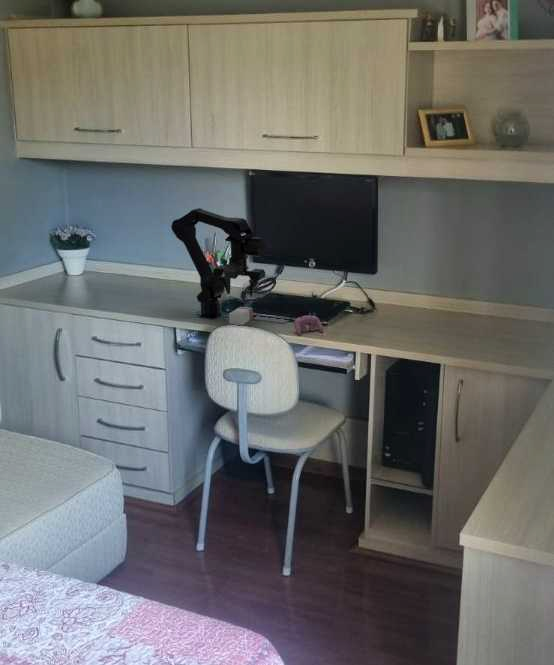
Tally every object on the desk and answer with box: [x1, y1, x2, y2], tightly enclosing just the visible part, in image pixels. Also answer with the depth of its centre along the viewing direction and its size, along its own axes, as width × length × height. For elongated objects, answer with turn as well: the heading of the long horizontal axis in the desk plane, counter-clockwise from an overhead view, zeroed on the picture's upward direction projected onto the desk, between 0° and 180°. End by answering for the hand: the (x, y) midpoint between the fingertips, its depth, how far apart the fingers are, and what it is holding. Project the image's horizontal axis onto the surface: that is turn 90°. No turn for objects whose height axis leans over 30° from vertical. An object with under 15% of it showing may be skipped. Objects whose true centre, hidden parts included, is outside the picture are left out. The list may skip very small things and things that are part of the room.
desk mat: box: [252, 315, 290, 325], centre depth 329 cm, size 13×11×1 cm
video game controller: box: [293, 315, 324, 336], centre depth 312 cm, size 10×5×7 cm, turn 108°
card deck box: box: [228, 306, 254, 326], centre depth 326 cm, size 5×9×4 cm, turn 156°
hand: (240, 295), depth 323 cm, fingers open, 9 cm apart
